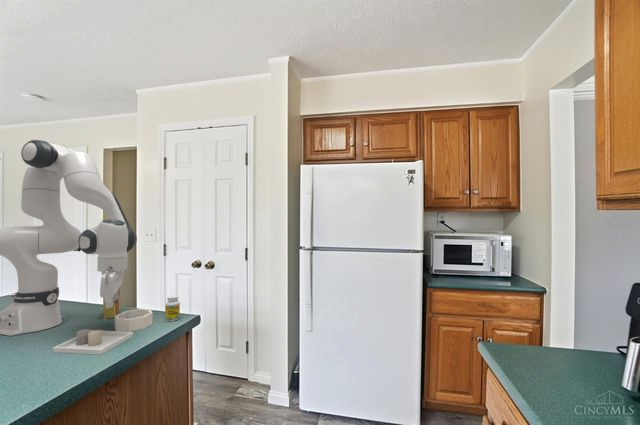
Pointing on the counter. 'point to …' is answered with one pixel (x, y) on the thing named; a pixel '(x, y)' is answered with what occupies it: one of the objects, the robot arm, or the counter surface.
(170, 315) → the supplement bottle
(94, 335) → the pebble
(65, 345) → the tray
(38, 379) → the counter surface
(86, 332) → the pebble
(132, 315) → the grey rounded lump
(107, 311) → the candy box
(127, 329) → the bowl
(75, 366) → the counter surface
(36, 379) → the counter surface
